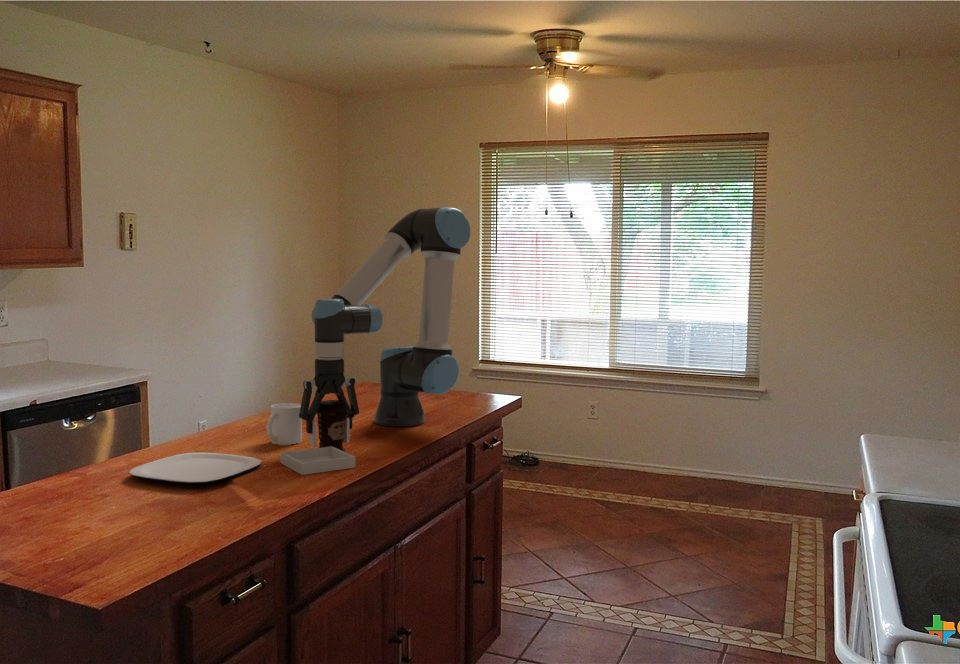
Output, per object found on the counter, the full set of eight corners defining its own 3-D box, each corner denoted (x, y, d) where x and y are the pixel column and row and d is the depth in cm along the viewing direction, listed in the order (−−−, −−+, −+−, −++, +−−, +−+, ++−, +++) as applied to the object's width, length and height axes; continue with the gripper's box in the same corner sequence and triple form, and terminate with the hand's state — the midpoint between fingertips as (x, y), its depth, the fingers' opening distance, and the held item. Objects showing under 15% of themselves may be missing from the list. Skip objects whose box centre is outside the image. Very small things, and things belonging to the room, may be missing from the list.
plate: (206, 491, 178) (205, 483, 178) (114, 479, 187) (114, 472, 186) (274, 465, 202) (273, 458, 201) (189, 456, 210) (189, 449, 210)
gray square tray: (331, 456, 210) (331, 446, 210) (355, 467, 199) (355, 456, 199) (280, 463, 202) (280, 452, 202) (302, 474, 191) (302, 463, 191)
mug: (279, 450, 216) (279, 411, 216) (255, 446, 220) (254, 408, 219) (308, 441, 227) (308, 404, 226) (284, 438, 231) (284, 402, 230)
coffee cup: (354, 448, 219) (354, 400, 218) (338, 455, 211) (338, 405, 210) (325, 445, 222) (325, 398, 221) (309, 452, 214) (308, 403, 213)
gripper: (360, 354, 224) (360, 436, 225) (284, 358, 211) (285, 445, 213) (372, 357, 217) (372, 441, 219) (295, 361, 205) (296, 451, 207)
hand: (329, 443), depth 216 cm, fingers open, 9 cm apart
